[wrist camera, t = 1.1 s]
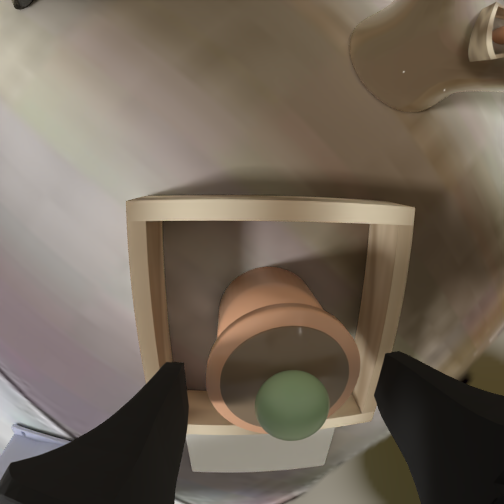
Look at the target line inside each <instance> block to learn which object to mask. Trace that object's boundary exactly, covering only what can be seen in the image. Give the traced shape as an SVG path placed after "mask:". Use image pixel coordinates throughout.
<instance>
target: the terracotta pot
mask: <svg viewBox="0 0 504 504" xmlns="http://www.w3.org/2000/svg"><path fill="white" fill-rule="evenodd" d="M359 373H360V354H359V350H358V347H357V344H356V343H355V341H354V339H353V337H352V336H351V335H350V333H349V332H348V330H347V329H346V328H345V327H344V325H343V324H342V323H341V322H340V321H339V320H338V319H337V318H336V317H335V316H333V315H331V314H330V313H328V312H327V311H325V310H323V308H322V307H321V305H320V304H319V302H318V301H317V299H316V298H315V297H314V295H313V294H312V292H311V291H310V289H309V288H308V286H307V285H306V284H305V282H304V281H303V280H302V279H301V278H300V277H299V276H297V275H296V274H294V273H292V272H290V271H288V270H285V269H282V268H278V267H260V268H255V269H252V270H249V271H247V272H245V273H243V274H242V275H240V276H238V277H237V278H236V279H235V280H233V281H232V282H231V284H230V285H229V286H228V287H227V289H226V290H225V292H224V294H223V296H222V298H221V301H220V306H219V317H218V331H217V339H216V341H215V343H214V344H213V346H212V348H211V351H210V354H209V356H208V362H207V369H206V389H207V393H208V396H209V399H210V401H211V403H212V404H213V406H214V407H215V409H216V410H217V411H218V412H219V413H220V414H221V415H222V416H223V417H224V418H225V419H226V420H228V421H229V422H231V423H232V424H234V425H236V426H238V427H240V428H243V429H245V430H249V431H252V432H257V433H264V434H269V435H271V436H273V437H275V438H277V439H280V440H284V441H297V440H302V439H305V438H307V437H309V436H311V435H313V434H314V433H316V432H317V431H318V430H319V429H320V428H321V427H322V426H323V424H324V423H325V421H326V419H327V418H328V417H329V416H331V415H332V414H333V413H335V412H336V411H337V410H338V409H339V408H340V407H341V406H342V405H343V404H344V403H345V402H346V400H347V399H348V398H349V396H350V395H351V393H352V392H353V390H354V388H355V386H356V384H357V381H358V378H359Z"/></svg>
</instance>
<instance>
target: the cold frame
mask: <svg viewBox="0 0 504 504" xmlns="http://www.w3.org/2000/svg"><path fill="white" fill-rule="evenodd" d="M414 215H415V207H411V206H406V205H401V204H396V203H392V202H387V201H376V200H362V199H345V198H326V197H303V196H269V195H163V196H144V197H140V198H136V199H132V200H128V201H126V217H127V237H128V252H129V265H130V276H131V286H132V295H133V304H134V312H135V320H136V327H137V334H138V340H139V346H140V352H141V358H142V364H143V369H144V375H145V380H146V384H147V382H148V381H149V380H150V379H151V378H152V377H153V376H154V375H155V374H156V372H157V371H158V370H159V369H160V368H161V367H162V366H163V364H165V363H166V362H173V359H172V351H171V342H170V333H169V323H168V312H167V300H166V287H165V271H164V253H163V228H162V221H300V222H338V223H367V224H370V227H369V239H368V249H367V259H366V268H365V276H364V284H363V291H362V298H361V305H360V312H359V318H358V324H357V330H356V336H355V343H356V344H357V347H358V350H359V354H360V373H359V378H358V381H357V384H356V386H355V388H354V390H353V392H352V393H351V395H350V396H349V398H348V399H347V400H346V402H345V403H344V404H343V405H342V406H341V407H340V408H339V409H338V410H337V411H336V412H335V413H333V414H332V415H331V416H329V417H328V418H327V419H326V421H325V423H324V424H323V426H322V427H321V428H320V429H326V428H333V427H340V426H347V425H353V424H358V423H364V422H369V421H371V420H372V418H373V415H374V412H375V409H376V406H377V403H376V400H375V397H374V393H375V390H376V386H377V383H378V379H379V376H380V372H381V368H382V364H383V360H384V356H385V353H391V352H392V349H393V345H394V341H395V337H396V332H397V328H398V323H399V318H400V313H401V308H402V303H403V298H404V292H405V286H406V280H407V274H408V267H409V260H410V253H411V245H412V236H413V226H414ZM187 395H188V403H189V413H188V426H187V433H186V434H198V435H255V434H264V433H257V432H252V431H249V430H245V429H243V428H240V427H238V426H236V425H234V424H232V423H231V422H229V421H228V420H226V419H225V418H224V417H223V416H222V415H221V414H220V413H219V412H218V411H217V410H216V409H215V407H214V406H213V404H212V403H211V401H210V399H209V396H208V393H207V391H197V390H187Z"/></svg>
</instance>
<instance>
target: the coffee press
mask: <svg viewBox="0 0 504 504" xmlns="http://www.w3.org/2000/svg"><path fill="white" fill-rule="evenodd" d="M33 1H34V0H12V3H13V5H14V7H15V8H16V9H24V8H26V7H28V6H29V5H30V4H31V3H32V2H33Z"/></svg>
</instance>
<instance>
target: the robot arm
mask: <svg viewBox="0 0 504 504" xmlns="http://www.w3.org/2000/svg"><path fill="white" fill-rule="evenodd" d="M374 397H375V400H376V403H377V406H378V409H379V411H380V414H381V416H382V418H383V420H384V422H385V424H386V426H387V427H388V429H389V431H390V433H391V435H392V436H393V438H394V439H395V442H396V443H397V445H398V447H399V449H400V451H401V452H402V454H403V456H404V458H405V460H406V462H407V464H408V466H409V469H410V472H411V474H412V477H413V480H414V482H415V485H416V488H417V491H418V494H419V498H420V501H421V504H504V396H502V395H498V394H494V393H490V392H487V391H484V390H481V389H478V388H475V387H472V386H470V385H467V384H465V383H463V382H460V381H458V380H456V379H454V378H452V377H449V376H447V375H445V374H443V373H441V372H439V371H437V370H436V369H434V368H432V367H430V366H428V365H426V364H424V363H422V362H420V361H418V360H416V359H414V358H412V357H411V356H408V355H406V354H404V353H402V352H399V351H398V352H391V353H385V356H384V360H383V364H382V368H381V372H380V376H379V379H378V383H377V386H376V390H375V393H374ZM188 413H189V403H188V395H187V387H186V378H185V369H184V363H177V362H166V363H165V364H163V366H162V367H161V368H160V369H159V370H158V371H157V372H156V374H155V375H154V376H153V377H152V378H151V379H150V380H149V381H148V382H147V384H146V385H145V386H144V387H143V388H142V389H141V390H140V391H139V392H138V393H137V394H136V395H135V396H134V397H133V398H132V399H131V400H130V401H129V402H127V403H126V404H125V405H124V406H123V407H122V408H121V409H120V410H118V411H117V412H116V413H115V414H114V415H112V416H111V417H110V418H109V419H107V420H106V421H105V422H103V423H102V424H100V425H99V426H97V427H96V428H94V429H93V430H91V431H89V432H88V433H86V434H84V435H82V436H81V437H79V438H77V439H75V440H73V441H68V440H64V439H60V438H56V437H53V436H49V435H46V434H43V433H39V432H36V431H33V430H30V429H27V428H24V427H21V426H18V425H16V424H13V425H12V427H11V428H12V430H13V432H14V435H13V437H12V438H11V440H10V441H9V443H8V445H7V446H6V448H5V449H4V451H3V452H2V454H1V455H0V504H174V500H175V488H176V481H177V476H178V471H179V467H180V462H181V457H182V452H183V448H184V443H185V438H186V433H187V426H188Z"/></svg>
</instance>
